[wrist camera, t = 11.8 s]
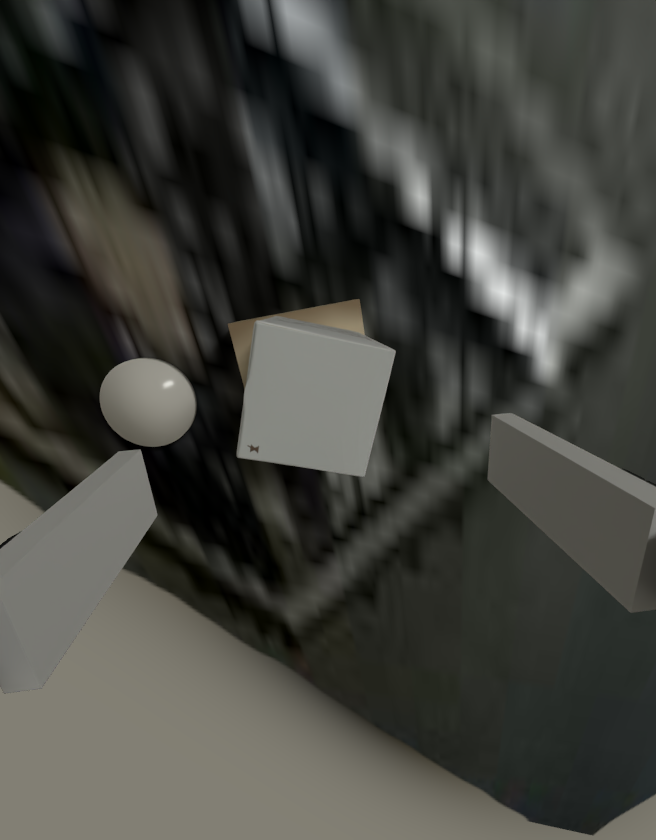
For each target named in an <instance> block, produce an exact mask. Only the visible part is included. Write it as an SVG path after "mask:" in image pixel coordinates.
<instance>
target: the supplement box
mask: <svg viewBox="0 0 656 840" xmlns="http://www.w3.org/2000/svg"><path fill="white" fill-rule="evenodd" d="M395 352H396V351H395V350H393V349H391V348H389V347H387V346H385V345H383V344H381V343H379V342H377V341H375V340H373V339H371V338H369V337H367V336H365V335H363V334H361V333H359V332H355V331H351V330H346V329H341V328H336V327H331V326H325V325H320V324H315V323H310V322H305V321H300V320H295V319H290V318H285V317H280V316H274V317H271V318H267V319H264V320H257V321H255V323H254V327H253V335H252V342H251V350H250V357H249V365H248V372H247V380H246V386H245V391H244V402H243V409H242V417H241V424H240V432H239V439H238V446H237V458H243V459H250V460H256V461H263V462H270V463H277V464H284V465H291V466H298V467H304V468H311V469H317V470H323V471H329V472H335V473H341V474H348V475H355V476H361V477H364V476H365V472H366V468H367V465H368V461H369V457H370V453H371V449H372V445H373V441H374V437H375V433H376V429H377V425H378V421H379V417H380V413H381V409H382V405H383V401H384V397H385V393H386V389H387V385H388V381H389V377H390V373H391V369H392V365H393V360H394V356H395Z"/></svg>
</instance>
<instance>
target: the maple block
mask: <svg viewBox="0 0 656 840" xmlns="http://www.w3.org/2000/svg"><path fill="white" fill-rule="evenodd" d="M274 316H280V317H285V318H290V319H295V320H300V321H305V322H310V323H315V324H320V325H325V326H331V327H336V328H341V329H346V330H351V331H355V332H359V333H361V334H363V335H365V334H364V327H363V320H362V313H361V306H360V299H356V300H350V301H344V302H339V303H334V304H329V305H323V306H318V307H313V308H307V309H302V310H297V311H291V312H286V313H281V314H276V315H270V316H265V317H260V318H254V319H249V320H244V321H238V322H234V323H230V324H228V327H229V331H230V334H231V338H232V342H233V346H234V350H235V354H236V358H237V362H238V365H239V369H240V373H241V377H242V381H243V385H244V389H245V386H246V380H247V372H248V365H249V357H250V350H251V342H252V335H253V327H254V323H255V321H257V320H264V319H267V318H271V317H274Z"/></svg>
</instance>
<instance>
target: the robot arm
mask: <svg viewBox="0 0 656 840" xmlns="http://www.w3.org/2000/svg"><path fill="white" fill-rule="evenodd" d="M488 481H489V482H490V483H492V484H493V485H494V486H495V487H496V488H497V489H498V490H499V491H500V492H501V493H502V494H503V495H504V496H506V497H507V498H508V499H509V500H510V501H511V502H512V503H513V504H514V505H515V506H516V507H517V508H518V509H520V510H521V511H522V512H523V513H524V514H525V515H526V516H527V517H528V518H529V519H530V520H531V521H532V522H534V523H535V524H536V525H537V526H538V527H539V528H540V529H541V530H542V531H543V532H544V533H545V534H546V535H548V536H549V537H550V538H551V539H552V540H553V541H554V542H555V543H556V544H557V545H558V546H559V547H560V548H562V549H563V550H564V551H565V552H566V553H567V554H568V555H569V556H570V557H571V558H572V559H573V560H574V561H576V562H577V563H578V564H579V565H580V566H581V567H582V568H583V569H584V570H585V571H586V572H587V573H588V574H590V575H591V576H592V577H593V578H594V579H595V580H596V581H597V582H598V583H599V584H600V585H601V586H602V587H604V588H605V589H606V590H607V591H608V592H609V593H610V594H611V595H612V596H613V597H614V598H615V599H616V600H618V601H619V602H620V603H621V604H622V605H623V606H624V607H625V608H626V609H627V610H628V611H629V612H630V613H633V612H641V611H648V610H656V484H654V483H652V482H650V481H645V479H644V478H642V477H640V476H638V475H636V474H634V473H632V472H630V471H628V470H625V469H622V468H619V467H616V466H614V465H612V464H610V463H608V462H606V461H604V460H602V459H600V458H598V457H597V456H595V455H593V454H591V453H589V452H587V451H585V450H583V449H581V448H579V447H577V446H575V445H573V444H571V443H569V442H567V441H565V440H563V439H561V438H559V437H557V436H555V435H553V434H551V433H550V432H548V431H546V430H544V429H542V428H540V427H538V426H536V425H534V424H532V423H530V422H528V421H526V420H524V419H522V418H520V417H518V416H516V415H514V414H512V413H507V414H497V415H492V422H491V437H490V451H489V466H488ZM156 517H157V511H156V507H155V503H154V500H153V496H152V492H151V488H150V484H149V480H148V476H147V472H146V468H145V464H144V461H143V457H142V453H141V449H140V450H130V451H119V452H118V453H117V454H115V455H114V456H113V457H112V458H111V459H109V460H108V461H107V462H106V463H104V464H103V465H102V466H101V467H100V468H98V469H97V470H96V471H95V472H93V473H92V474H91V475H90V476H89V477H87V478H86V479H85V480H84V481H82V482H81V483H80V484H79V485H78V486H76V487H75V488H74V489H73V490H72V491H70V492H69V493H68V494H67V495H65V496H64V497H63V498H62V499H61V500H59V501H58V502H57V503H56V504H54V505H53V506H52V507H51V508H50V509H48V510H47V511H46V512H45V513H43V514H42V515H41V516H40V517H39V518H38V519H36V520H35V521H34V522H32V523H31V524H30V525H29V526H28V527H26V528H25V529H24V530H23V531H21V532H19V533H18V534H16V535H14V536H12V537H10V538H8V539H7V540H6V541H5V542H3V543H2V544H1V545H0V687H1V689H2V691H3V693H11V692H20V691H28V690H35V689H41V688H42V687H43V685H44V684H45V682H46V681H47V679H48V678H49V676H50V675H51V673H52V672H53V671H54V669H55V668H56V666H57V665H58V663H59V662H60V660H61V659H62V657H63V656H64V654H65V653H66V651H67V650H68V648H69V647H70V645H71V644H72V642H73V641H74V639H75V638H76V636H77V634H78V633H79V632H80V630H81V629H82V627H83V626H84V624H85V623H86V621H87V620H88V618H89V617H90V615H91V614H92V612H93V610H94V609H95V608H96V606H97V605H98V603H99V602H100V600H101V599H102V597H103V596H104V594H105V593H106V591H107V590H108V588H109V587H110V585H111V584H112V582H113V581H114V579H115V578H116V577H117V575H118V574H119V572H120V571H121V569H122V568H123V566H124V565H125V563H126V562H127V560H128V559H129V557H130V556H131V554H132V553H133V551H134V550H135V548H136V547H137V545H138V544H139V542H140V541H141V539H142V538H143V536H144V535H145V533H146V532H147V530H148V529H149V527H150V526H151V524H152V523H153V521H154V520H155V518H156Z"/></svg>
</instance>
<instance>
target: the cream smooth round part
mask: <svg viewBox="0 0 656 840" xmlns="http://www.w3.org/2000/svg"><path fill="white" fill-rule="evenodd" d="M100 406H101V410H102V413H103V415H104V417H105V419H106V421H107V422H108V424H109V425H110V426H111V428H112V429H113V430H114V431H115V432H116V433H117V434H119V435H120V436H121V437H123V438H124V439H126V440H128V441H130V442H132V443H135V444H138V445H142V446H149V447H157V446H164V445H167V444H170V443H172V442H174V441H176V440H178V439H179V438H180V437H181V436H183V435H184V434H185V432H186V431H187V430H188V429H189V428H190V427H191V425H192V423H193V421H194V419H195V416H196V412H197V398H196V394H195V391H194V389H193V386H192V385H191V383H190V381H189V380H188V378H187V377H186V376H185V375H184V374H183V373H182V372H181V371H180V370H179V369H178V368H176V367H175V366H173V365H171V364H169V363H167V362H165V361H162V360H159V359H155V358H136V359H132V360H129V361H126V362H123V363H121V364H119V365H118V366H116V367H114V368H113V369H112V370H111V371H110V372H109V373H108V374H107V376H106V377H105V379H104V381H103V383H102V386H101V390H100Z"/></svg>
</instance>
